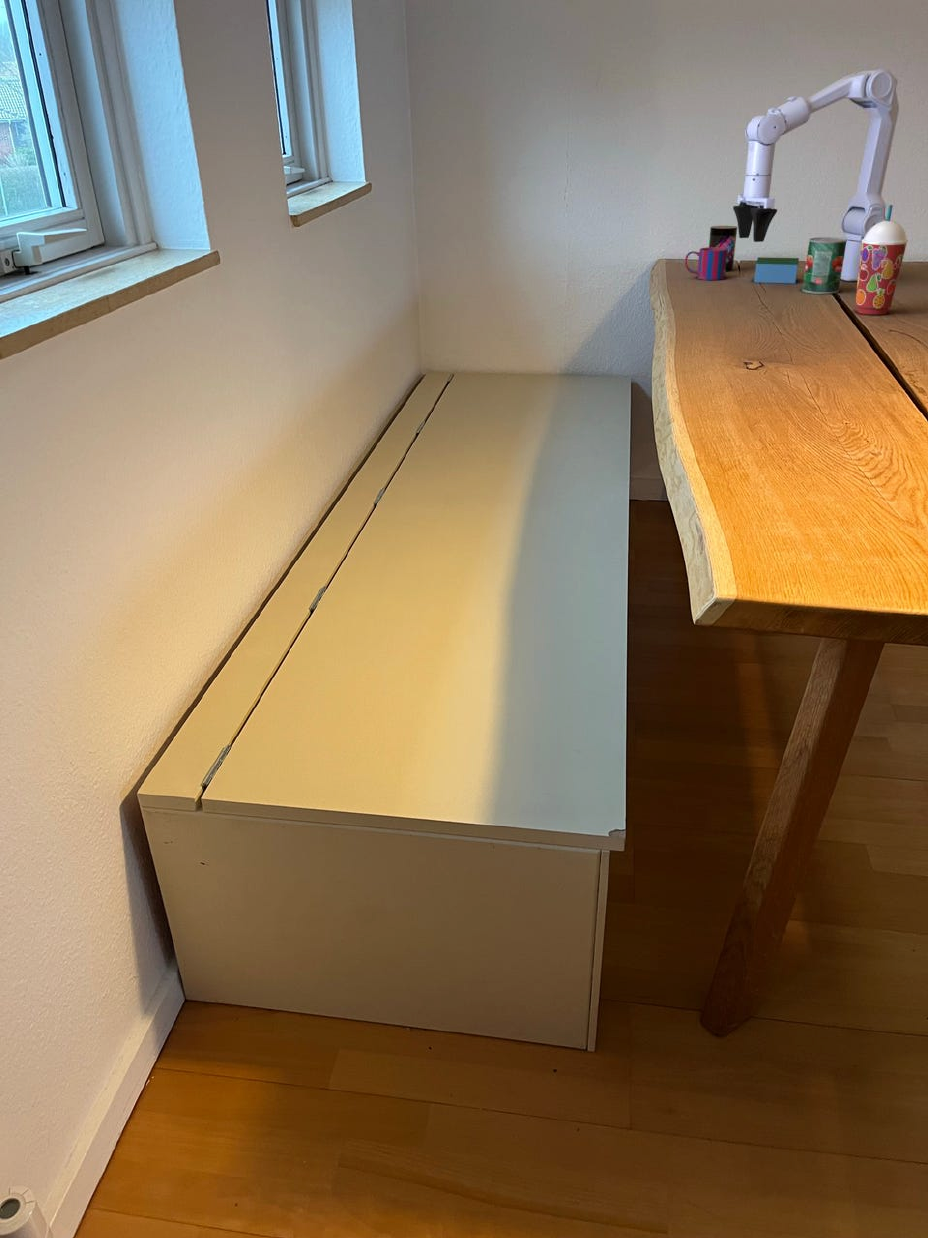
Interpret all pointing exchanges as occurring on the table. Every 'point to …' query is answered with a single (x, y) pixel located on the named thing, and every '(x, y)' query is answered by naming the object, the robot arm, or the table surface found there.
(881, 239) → the smoothie
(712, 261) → the mug
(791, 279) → the sponge
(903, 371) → the table surface
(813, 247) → the canned tomato
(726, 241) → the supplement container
